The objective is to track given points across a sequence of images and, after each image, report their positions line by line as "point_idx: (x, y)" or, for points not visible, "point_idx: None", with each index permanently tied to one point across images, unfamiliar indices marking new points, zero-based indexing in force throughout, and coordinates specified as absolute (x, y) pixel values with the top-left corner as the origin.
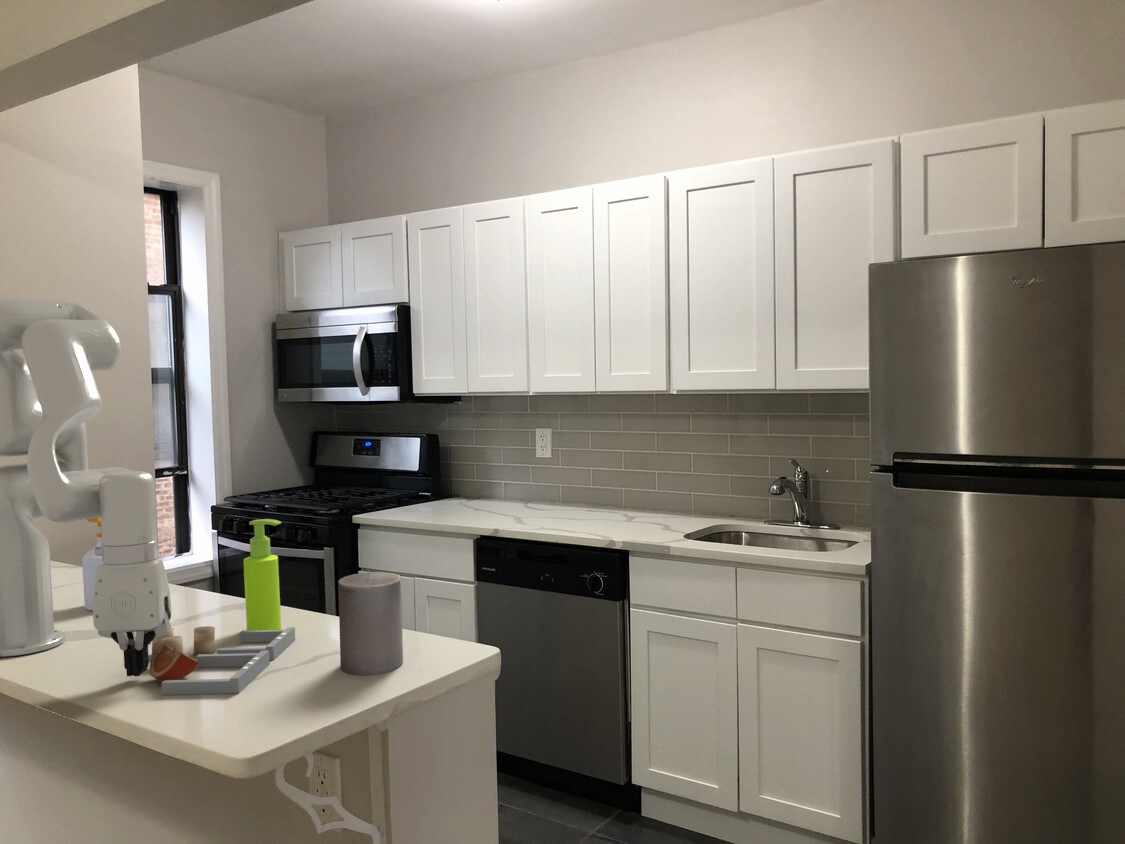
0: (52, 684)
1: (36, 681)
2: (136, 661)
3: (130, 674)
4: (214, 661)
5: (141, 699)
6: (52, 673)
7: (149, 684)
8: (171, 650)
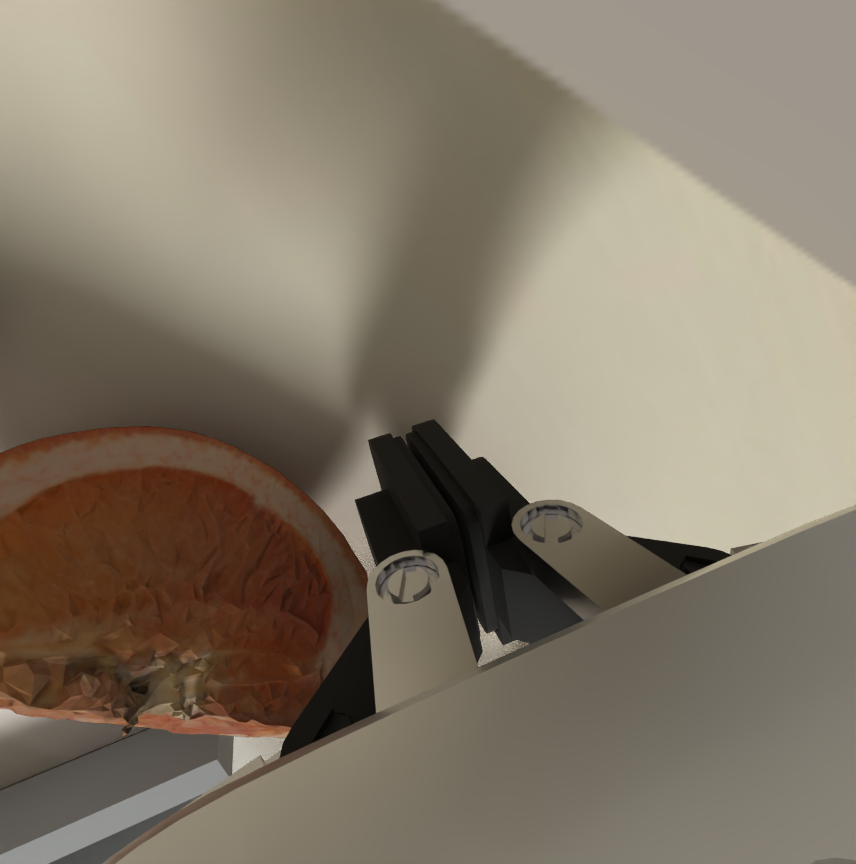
0: (770, 310)
1: (841, 329)
2: (390, 484)
3: (413, 430)
4: (107, 775)
5: (50, 149)
6: (815, 425)
7: (278, 434)
8: (172, 695)
